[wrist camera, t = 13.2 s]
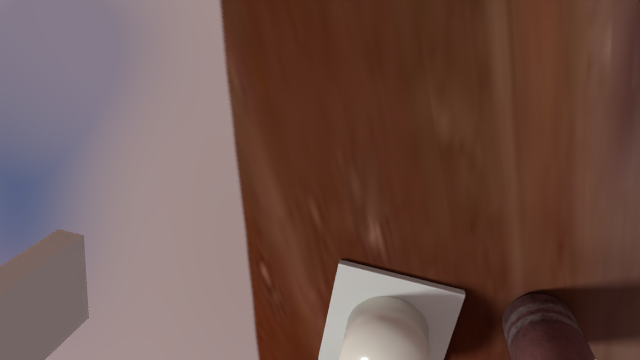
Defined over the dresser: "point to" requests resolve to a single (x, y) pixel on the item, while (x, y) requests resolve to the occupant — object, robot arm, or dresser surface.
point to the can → (543, 330)
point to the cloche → (385, 331)
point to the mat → (369, 282)
